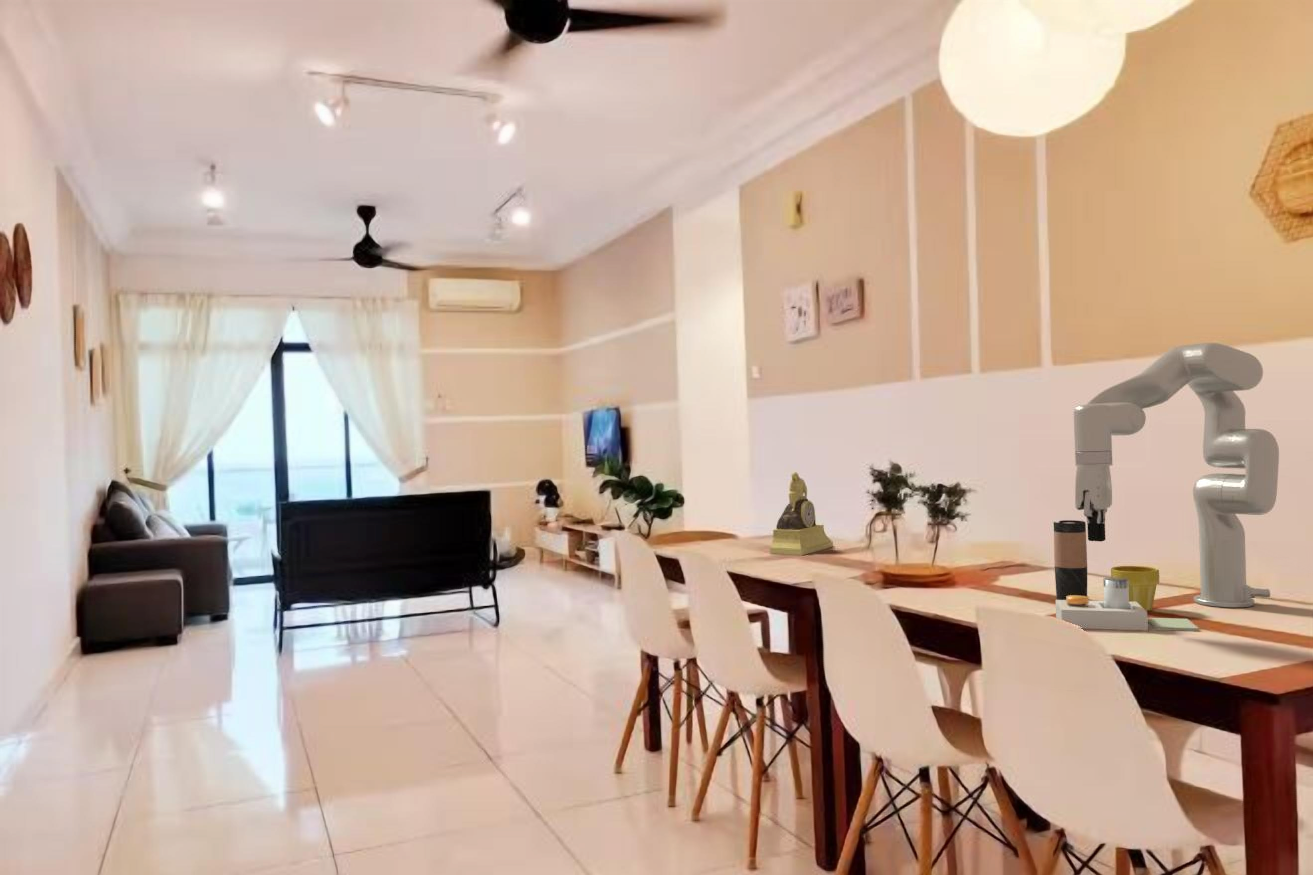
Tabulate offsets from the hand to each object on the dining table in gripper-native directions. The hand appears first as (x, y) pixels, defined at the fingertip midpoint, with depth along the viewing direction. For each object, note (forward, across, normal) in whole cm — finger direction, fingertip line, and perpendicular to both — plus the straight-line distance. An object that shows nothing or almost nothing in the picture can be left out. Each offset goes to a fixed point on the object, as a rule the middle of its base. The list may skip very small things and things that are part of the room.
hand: (1096, 540), depth 205 cm
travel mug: (+19, -24, -15) cm, 34 cm away
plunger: (+17, +2, -4) cm, 18 cm away
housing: (+19, 0, 0) cm, 19 cm away
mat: (+19, -6, +13) cm, 24 cm away
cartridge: (+19, -1, +3) cm, 19 cm away
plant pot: (+19, -21, +1) cm, 28 cm away
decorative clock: (+19, -67, -132) cm, 149 cm away
